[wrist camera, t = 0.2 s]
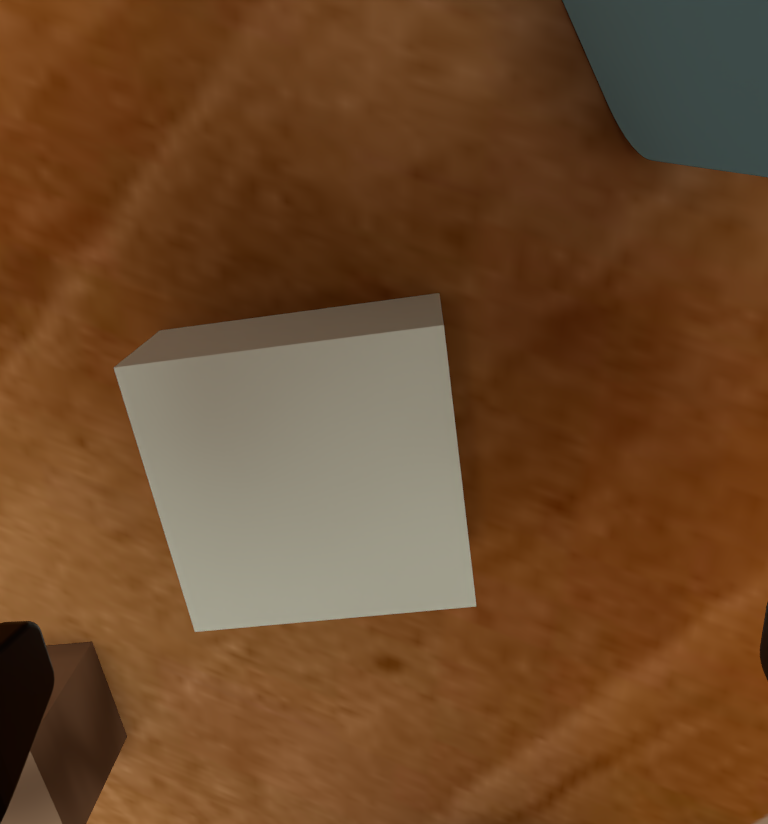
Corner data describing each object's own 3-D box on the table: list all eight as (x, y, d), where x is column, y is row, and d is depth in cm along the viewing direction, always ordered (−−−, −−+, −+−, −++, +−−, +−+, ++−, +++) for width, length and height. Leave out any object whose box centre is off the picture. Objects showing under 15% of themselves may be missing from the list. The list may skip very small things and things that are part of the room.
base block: (467, 535, 25) (476, 606, 21) (226, 559, 26) (194, 632, 22) (438, 290, 22) (443, 324, 18) (163, 327, 23) (113, 367, 19)
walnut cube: (127, 735, 29) (73, 849, 25) (15, 743, 30) (-58, 856, 25) (93, 640, 27) (27, 745, 23) (-26, 650, 28) (-114, 755, 23)
